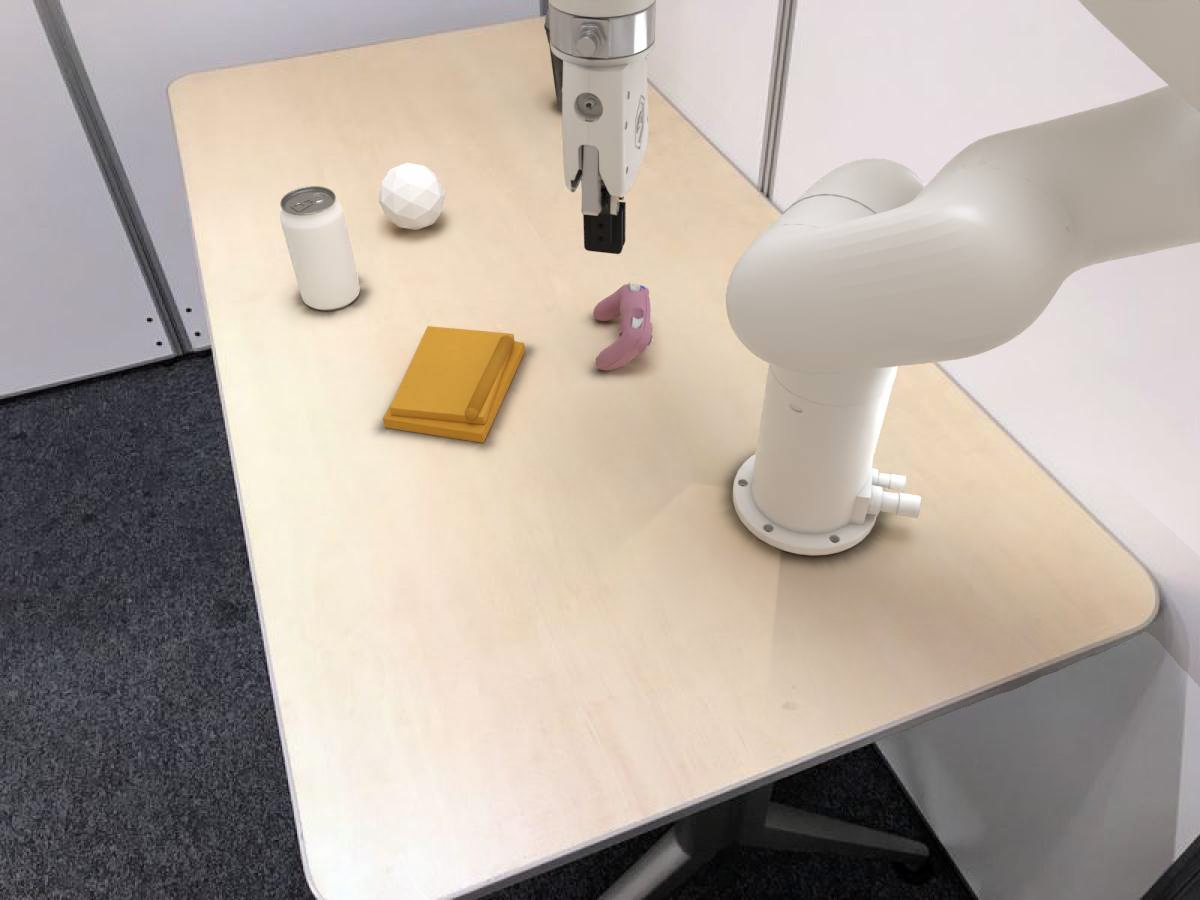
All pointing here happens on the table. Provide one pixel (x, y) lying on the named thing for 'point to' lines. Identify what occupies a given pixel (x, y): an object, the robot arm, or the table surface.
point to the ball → (411, 196)
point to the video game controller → (625, 325)
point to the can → (319, 248)
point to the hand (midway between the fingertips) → (604, 246)
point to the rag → (455, 383)
